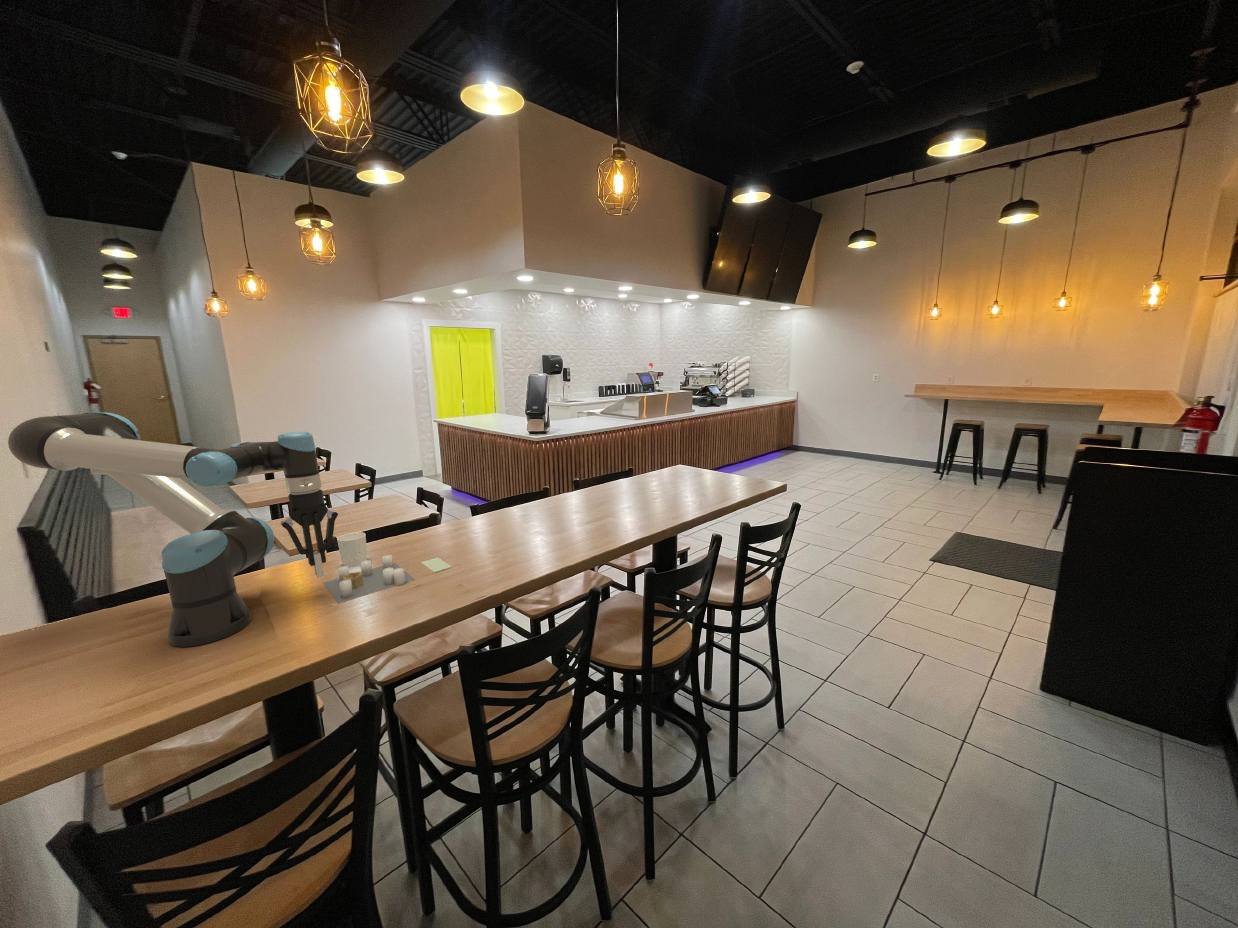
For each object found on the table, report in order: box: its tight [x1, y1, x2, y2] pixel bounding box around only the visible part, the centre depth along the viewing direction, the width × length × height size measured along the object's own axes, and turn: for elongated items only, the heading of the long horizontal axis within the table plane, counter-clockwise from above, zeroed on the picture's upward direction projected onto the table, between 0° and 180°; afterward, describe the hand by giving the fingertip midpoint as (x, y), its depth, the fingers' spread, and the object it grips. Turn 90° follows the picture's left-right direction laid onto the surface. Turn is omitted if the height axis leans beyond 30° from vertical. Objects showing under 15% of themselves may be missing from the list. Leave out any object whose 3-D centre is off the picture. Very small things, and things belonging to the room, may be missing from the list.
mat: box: [420, 557, 453, 574], centre depth 147 cm, size 12×11×1 cm
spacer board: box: [322, 554, 416, 604], centre depth 136 cm, size 20×18×5 cm
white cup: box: [336, 531, 368, 568], centre depth 150 cm, size 8×8×10 cm
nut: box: [343, 571, 363, 589], centre depth 133 cm, size 4×5×3 cm
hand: (319, 575), depth 127 cm, fingers closed
